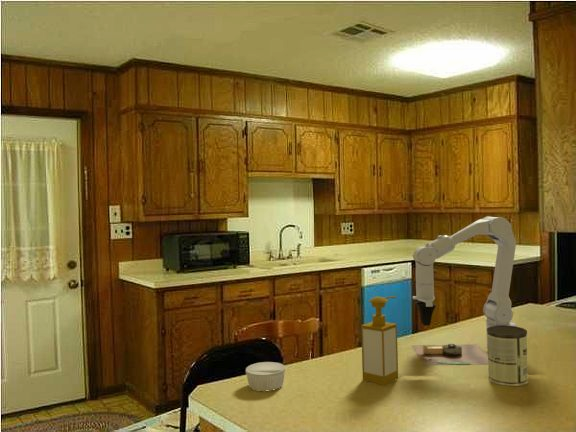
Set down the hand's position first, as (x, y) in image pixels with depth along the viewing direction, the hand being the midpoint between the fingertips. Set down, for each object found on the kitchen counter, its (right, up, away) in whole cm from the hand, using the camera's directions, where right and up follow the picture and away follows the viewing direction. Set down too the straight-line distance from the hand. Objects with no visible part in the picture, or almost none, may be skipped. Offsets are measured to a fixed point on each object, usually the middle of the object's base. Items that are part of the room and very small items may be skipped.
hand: (425, 324), depth 177 cm
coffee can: (+15, -10, -28) cm, 34 cm away
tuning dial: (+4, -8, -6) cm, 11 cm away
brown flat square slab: (+7, -9, -6) cm, 13 cm away
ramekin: (-52, -12, -27) cm, 59 cm away
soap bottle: (-17, -11, -22) cm, 30 cm away
